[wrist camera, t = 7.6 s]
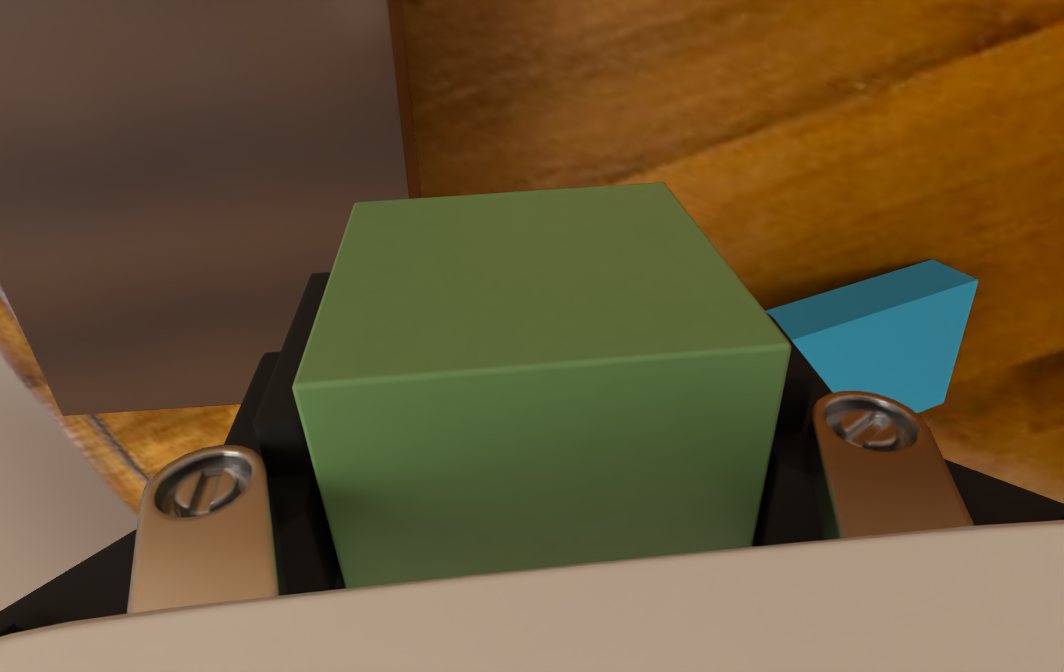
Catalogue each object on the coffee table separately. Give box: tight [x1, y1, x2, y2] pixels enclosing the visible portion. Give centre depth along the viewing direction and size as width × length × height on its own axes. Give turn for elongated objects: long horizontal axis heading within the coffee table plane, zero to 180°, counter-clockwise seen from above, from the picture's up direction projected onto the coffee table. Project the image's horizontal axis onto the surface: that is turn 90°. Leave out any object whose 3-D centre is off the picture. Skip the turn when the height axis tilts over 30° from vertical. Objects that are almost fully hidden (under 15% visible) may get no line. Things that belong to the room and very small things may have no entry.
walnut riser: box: [0, 0, 421, 416], centre depth 24 cm, size 20×14×5 cm
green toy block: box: [292, 182, 791, 589], centre depth 10 cm, size 5×5×5 cm
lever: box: [765, 259, 978, 413], centre depth 33 cm, size 7×7×18 cm
